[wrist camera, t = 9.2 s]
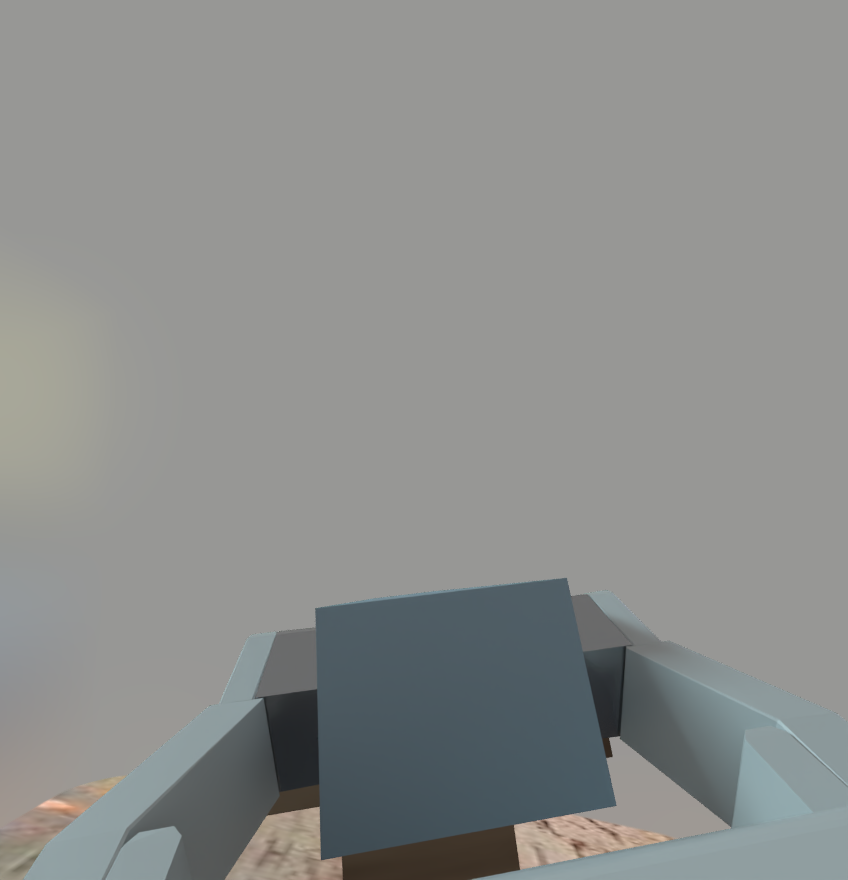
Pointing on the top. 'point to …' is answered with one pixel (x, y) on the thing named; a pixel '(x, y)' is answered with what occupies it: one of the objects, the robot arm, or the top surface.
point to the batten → (453, 715)
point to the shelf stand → (424, 849)
